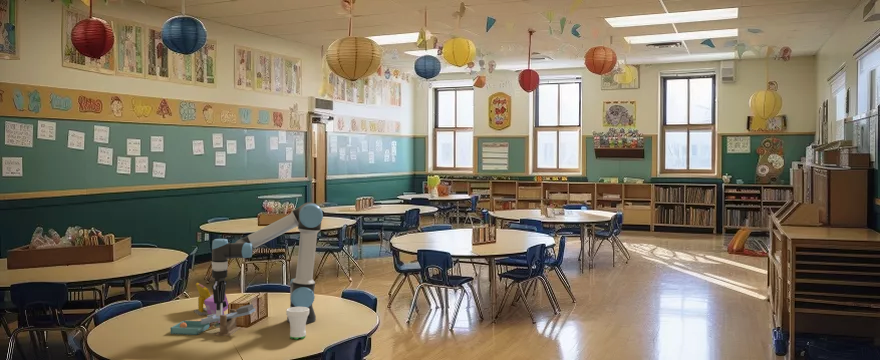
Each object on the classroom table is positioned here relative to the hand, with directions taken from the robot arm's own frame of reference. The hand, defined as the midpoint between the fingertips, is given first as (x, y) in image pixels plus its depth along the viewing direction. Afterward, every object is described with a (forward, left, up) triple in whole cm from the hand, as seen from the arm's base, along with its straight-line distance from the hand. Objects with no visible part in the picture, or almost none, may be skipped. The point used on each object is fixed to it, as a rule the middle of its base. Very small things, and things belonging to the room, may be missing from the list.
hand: (219, 315), depth 346 cm
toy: (+8, -18, -8) cm, 22 cm away
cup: (-43, +6, -8) cm, 44 cm away
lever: (-5, 0, 0) cm, 5 cm away
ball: (+19, 0, -6) cm, 20 cm away
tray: (+15, 0, -8) cm, 17 cm away
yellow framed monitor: (+25, -37, -8) cm, 46 cm away
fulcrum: (-5, 0, -8) cm, 9 cm away
